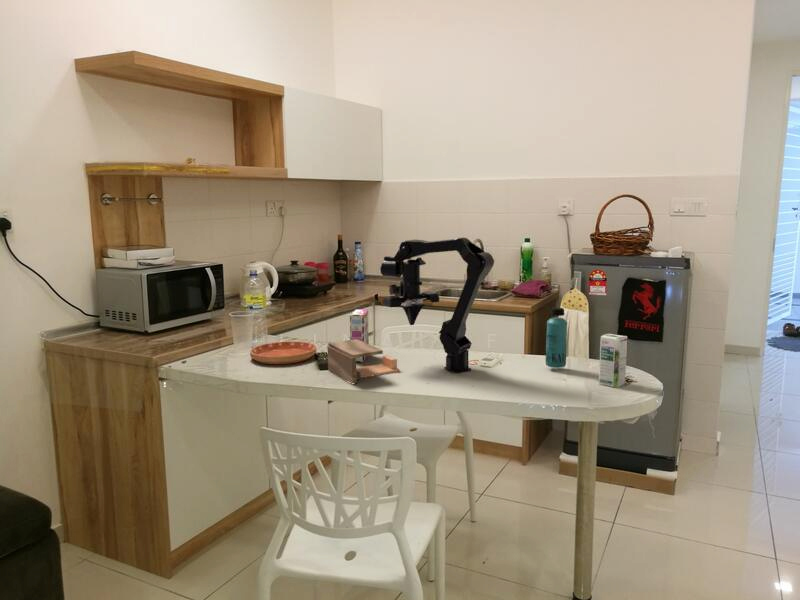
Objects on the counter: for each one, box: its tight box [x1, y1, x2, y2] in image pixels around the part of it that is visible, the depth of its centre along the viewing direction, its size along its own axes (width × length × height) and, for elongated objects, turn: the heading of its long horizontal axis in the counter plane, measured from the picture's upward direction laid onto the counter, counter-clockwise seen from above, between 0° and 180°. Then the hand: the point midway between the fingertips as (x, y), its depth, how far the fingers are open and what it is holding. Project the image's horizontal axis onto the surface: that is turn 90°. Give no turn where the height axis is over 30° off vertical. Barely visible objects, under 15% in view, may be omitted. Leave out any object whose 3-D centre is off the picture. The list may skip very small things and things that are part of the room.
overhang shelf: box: [326, 339, 384, 384], centre depth 196 cm, size 10×18×9 cm, turn 30°
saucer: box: [249, 340, 317, 365], centre depth 219 cm, size 23×23×4 cm
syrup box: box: [598, 333, 628, 389], centre depth 182 cm, size 6×6×14 cm
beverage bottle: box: [544, 307, 568, 369], centre depth 197 cm, size 6×7×20 cm
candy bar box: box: [349, 309, 370, 363], centre depth 215 cm, size 11×5×16 cm, turn 174°
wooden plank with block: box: [356, 354, 400, 378], centre depth 200 cm, size 14×9×4 cm, turn 120°
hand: (411, 324), depth 208 cm, fingers closed
